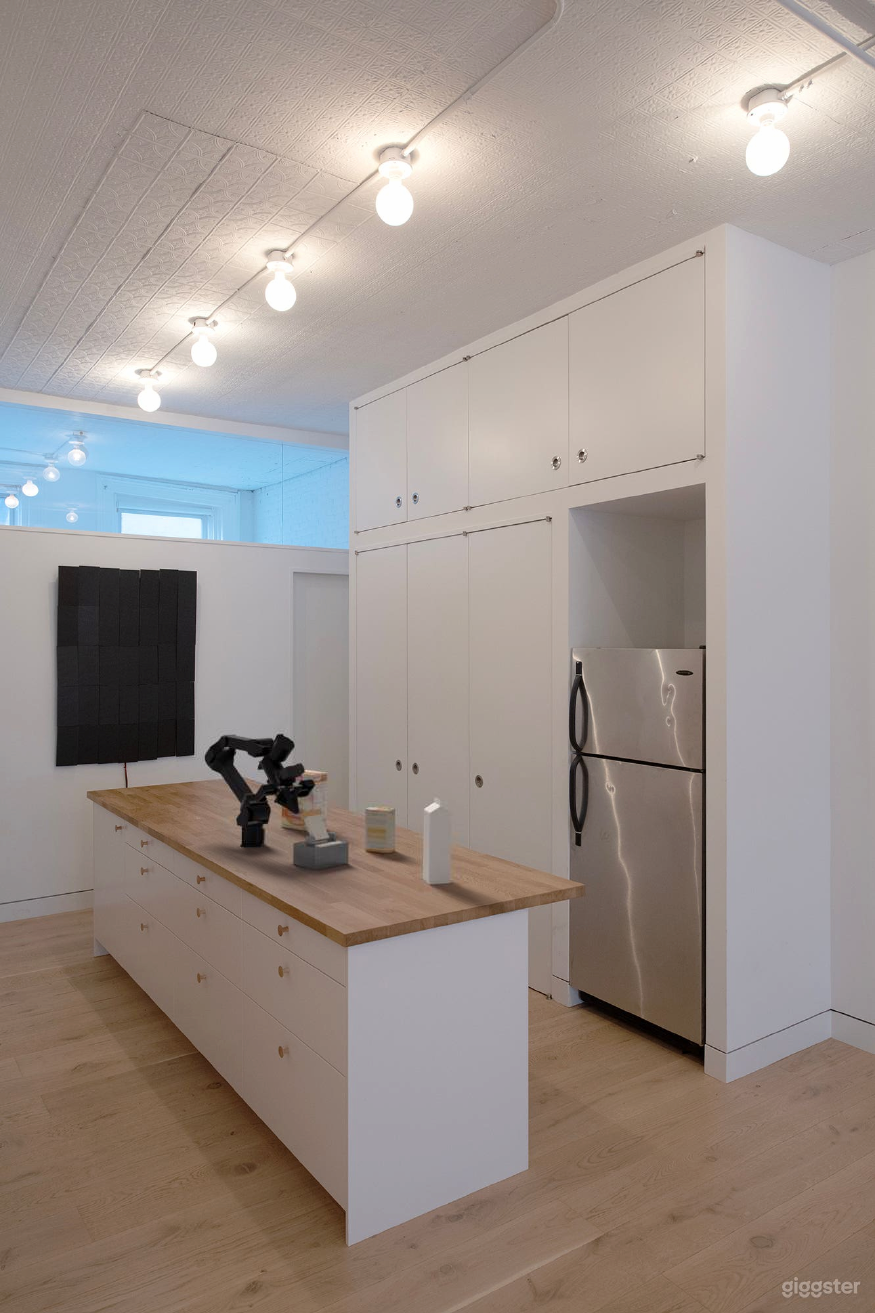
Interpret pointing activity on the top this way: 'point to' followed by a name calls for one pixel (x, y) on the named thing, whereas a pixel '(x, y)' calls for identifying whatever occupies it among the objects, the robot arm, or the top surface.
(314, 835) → the lever
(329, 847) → the box
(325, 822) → the coffeecake box
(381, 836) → the supplement box
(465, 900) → the top surface
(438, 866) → the milk
